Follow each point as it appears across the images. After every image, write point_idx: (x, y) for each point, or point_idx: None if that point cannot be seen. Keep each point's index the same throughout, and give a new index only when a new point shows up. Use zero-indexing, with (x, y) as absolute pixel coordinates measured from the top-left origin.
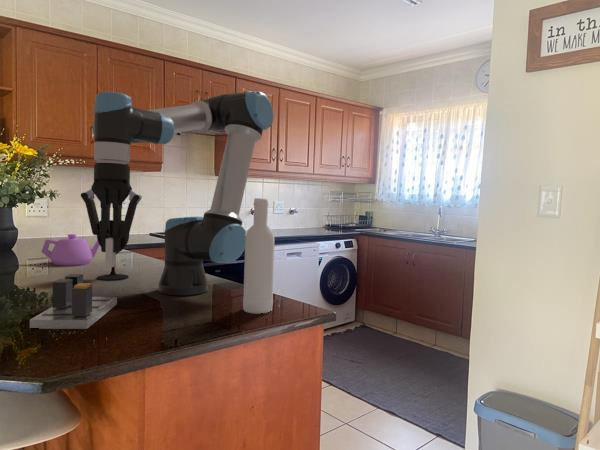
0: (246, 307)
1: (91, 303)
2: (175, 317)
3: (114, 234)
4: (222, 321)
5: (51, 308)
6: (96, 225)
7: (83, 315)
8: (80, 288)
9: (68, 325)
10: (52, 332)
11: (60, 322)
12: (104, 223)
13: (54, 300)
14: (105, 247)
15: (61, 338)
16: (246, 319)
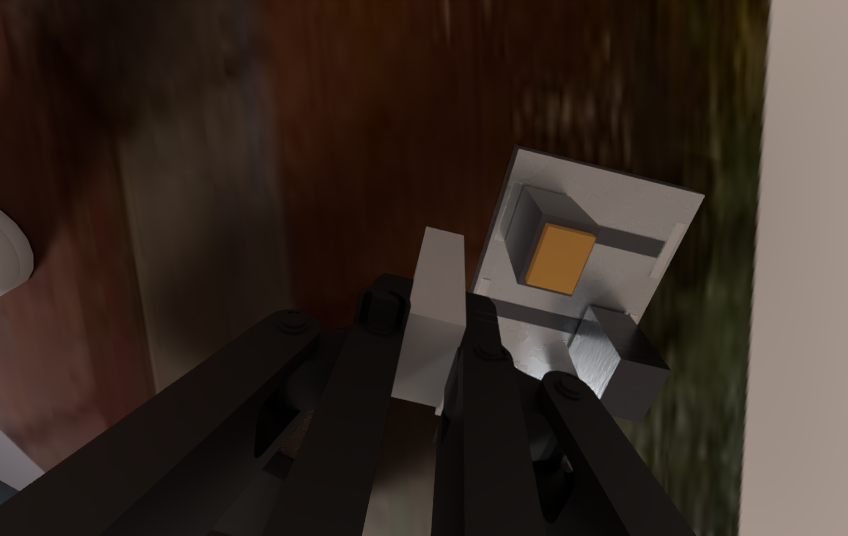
0: (3, 231)
1: (510, 247)
2: (244, 217)
3: (385, 335)
4: (81, 133)
5: (632, 317)
6: (575, 448)
7: (532, 188)
8: (565, 228)
9: (574, 160)
10: (620, 128)
11: (603, 169)
12: (487, 443)
13: (634, 327)
14: (466, 309)
15: (593, 46)
16: (3, 140)
